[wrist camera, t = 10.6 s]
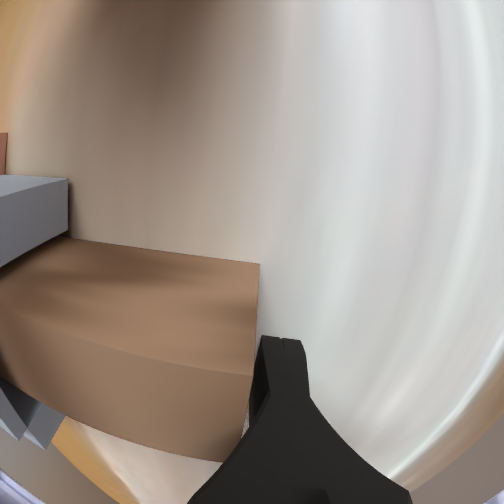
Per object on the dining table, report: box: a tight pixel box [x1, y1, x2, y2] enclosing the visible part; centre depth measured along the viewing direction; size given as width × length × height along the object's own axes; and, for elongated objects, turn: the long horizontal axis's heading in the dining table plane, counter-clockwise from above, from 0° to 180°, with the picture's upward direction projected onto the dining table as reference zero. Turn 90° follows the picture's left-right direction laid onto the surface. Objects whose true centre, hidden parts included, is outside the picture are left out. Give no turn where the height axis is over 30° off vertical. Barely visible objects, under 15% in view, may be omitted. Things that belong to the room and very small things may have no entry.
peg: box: [0, 236, 260, 463], centre depth 7 cm, size 11×4×5 cm, turn 83°
